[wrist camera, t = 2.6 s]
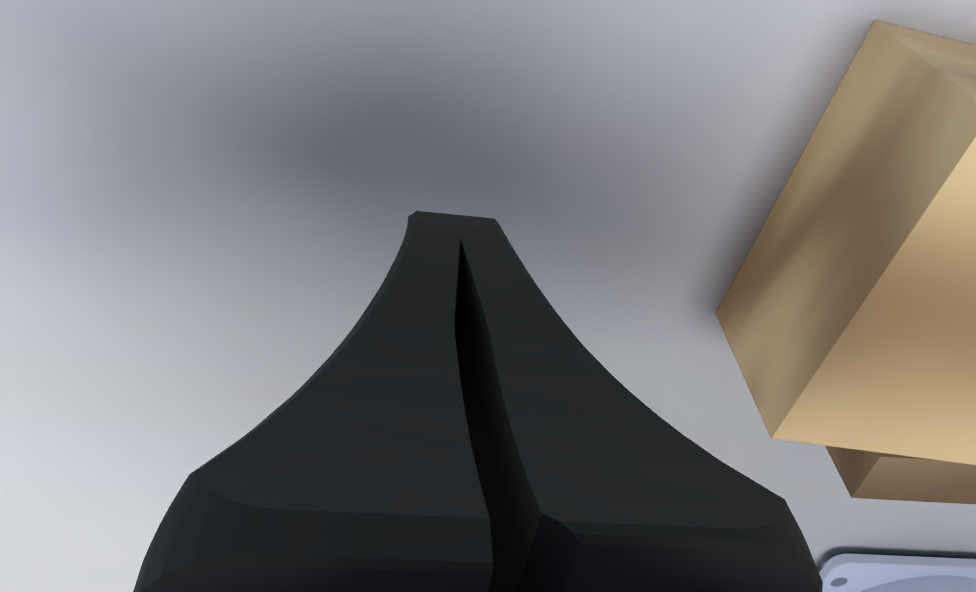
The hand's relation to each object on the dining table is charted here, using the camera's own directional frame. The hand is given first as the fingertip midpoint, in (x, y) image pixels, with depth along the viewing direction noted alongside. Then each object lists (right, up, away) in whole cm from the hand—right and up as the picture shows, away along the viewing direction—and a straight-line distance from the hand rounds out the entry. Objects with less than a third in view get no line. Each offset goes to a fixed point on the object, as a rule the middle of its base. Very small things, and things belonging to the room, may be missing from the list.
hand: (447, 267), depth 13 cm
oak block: (+9, +2, +4) cm, 10 cm away
